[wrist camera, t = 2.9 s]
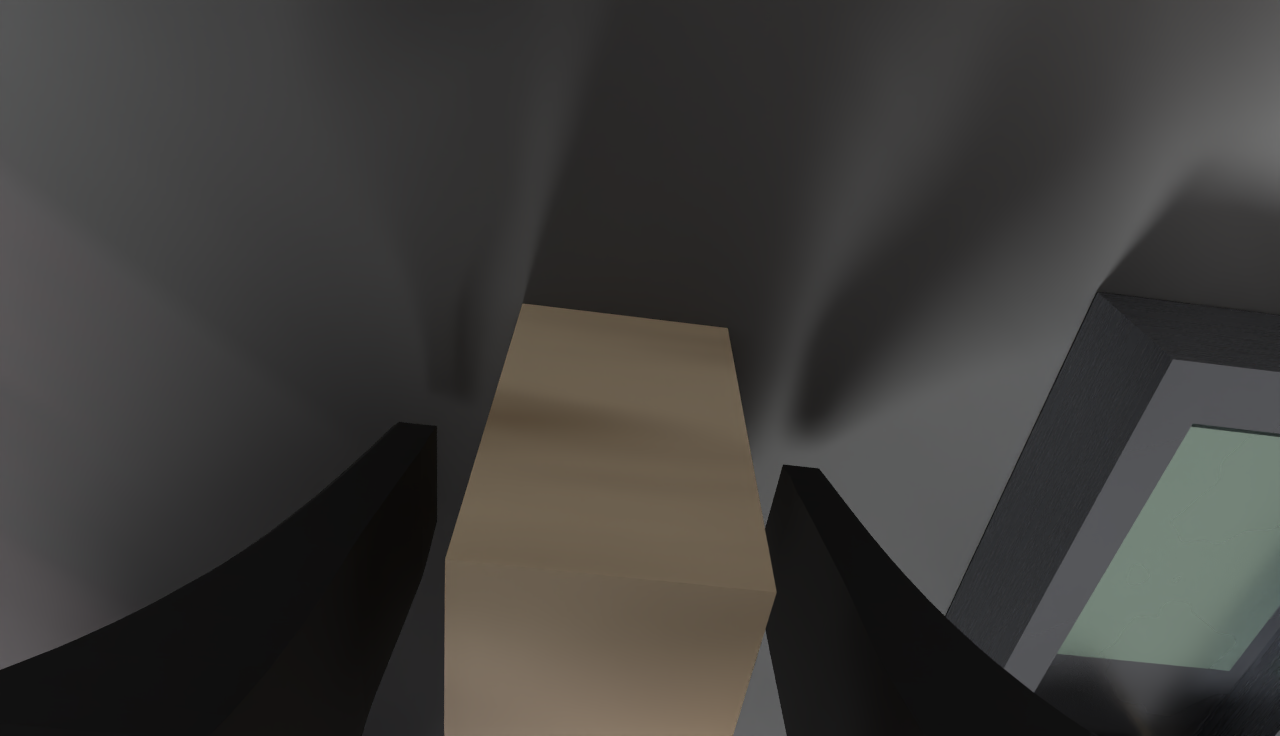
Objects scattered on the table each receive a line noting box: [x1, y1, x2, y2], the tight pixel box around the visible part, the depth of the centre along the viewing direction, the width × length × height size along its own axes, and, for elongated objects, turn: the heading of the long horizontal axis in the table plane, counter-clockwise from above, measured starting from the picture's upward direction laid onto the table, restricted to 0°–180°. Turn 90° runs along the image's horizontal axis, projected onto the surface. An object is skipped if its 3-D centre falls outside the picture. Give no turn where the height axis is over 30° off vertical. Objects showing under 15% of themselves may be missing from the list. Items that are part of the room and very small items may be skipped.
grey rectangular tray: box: [946, 292, 1280, 736], centre depth 16 cm, size 16×7×2 cm, turn 173°
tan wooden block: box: [444, 303, 777, 736], centre depth 12 cm, size 5×4×6 cm, turn 173°
